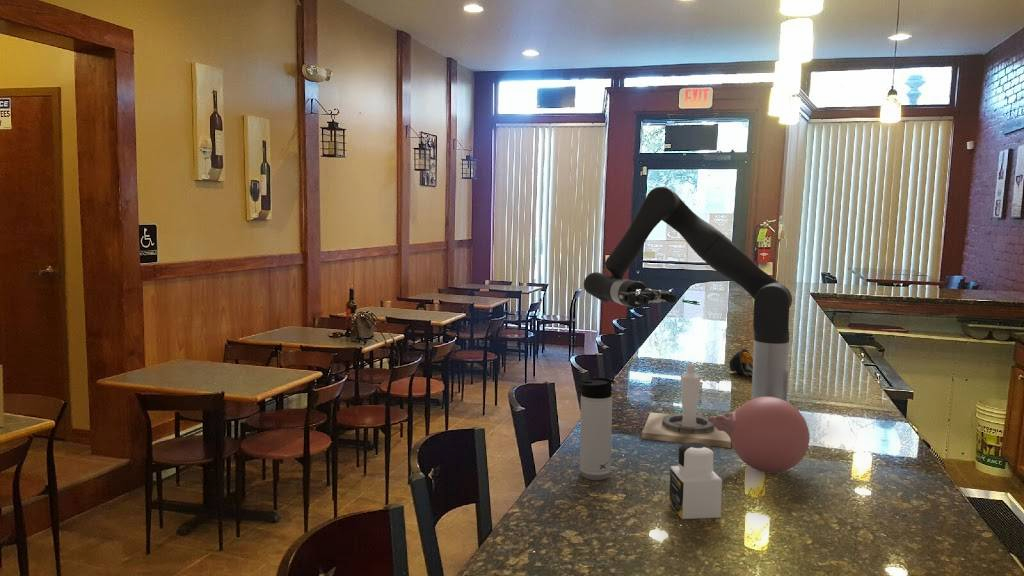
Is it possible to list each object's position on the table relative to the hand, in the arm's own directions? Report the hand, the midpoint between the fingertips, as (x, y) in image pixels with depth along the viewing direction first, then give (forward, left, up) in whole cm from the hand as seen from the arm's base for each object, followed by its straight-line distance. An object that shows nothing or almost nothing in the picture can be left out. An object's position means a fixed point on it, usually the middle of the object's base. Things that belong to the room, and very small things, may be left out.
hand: (661, 299), depth 182 cm
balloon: (-24, +37, -30) cm, 53 cm away
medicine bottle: (-13, +62, -30) cm, 70 cm away
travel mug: (+7, +51, -30) cm, 59 cm away
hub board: (-9, +17, -30) cm, 35 cm away
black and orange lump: (-26, -48, -30) cm, 62 cm away
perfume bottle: (-9, +16, -29) cm, 34 cm away
